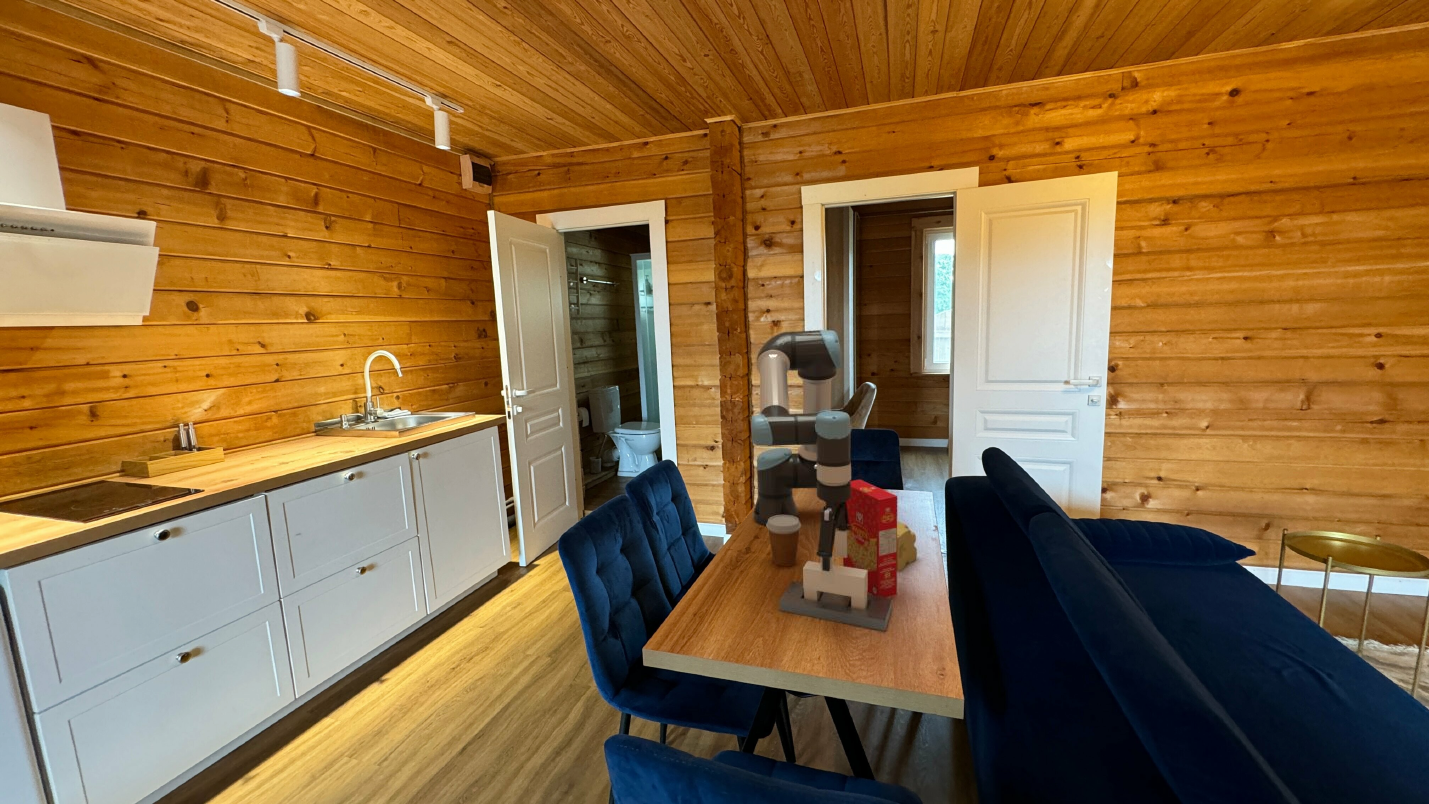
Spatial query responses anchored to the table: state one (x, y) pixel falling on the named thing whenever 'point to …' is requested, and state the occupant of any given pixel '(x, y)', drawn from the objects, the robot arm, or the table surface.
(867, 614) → the grey flat rectangular block
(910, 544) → the cheese
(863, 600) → the white block
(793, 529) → the disposable coffee cup
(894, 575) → the food packaging
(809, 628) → the table surface
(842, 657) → the table surface
